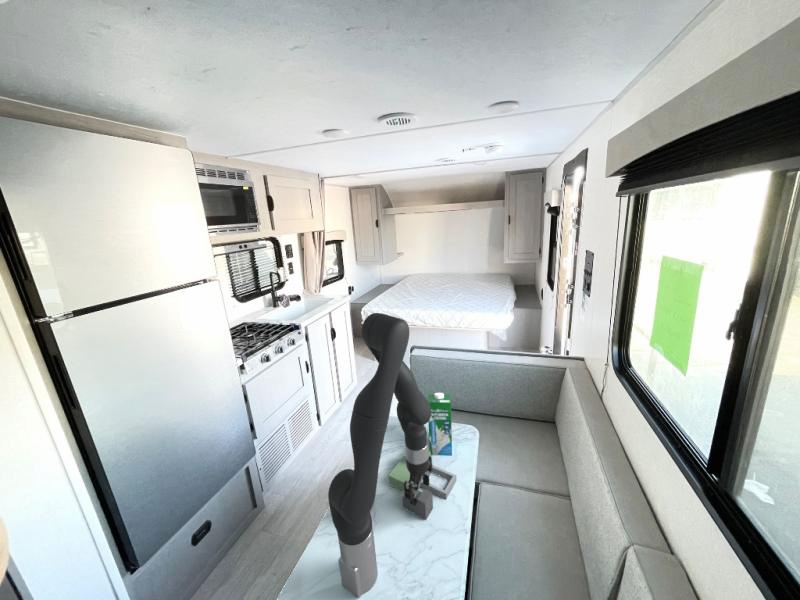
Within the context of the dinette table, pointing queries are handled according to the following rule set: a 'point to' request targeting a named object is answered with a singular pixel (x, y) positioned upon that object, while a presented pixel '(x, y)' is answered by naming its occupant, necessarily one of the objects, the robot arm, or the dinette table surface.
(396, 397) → the robot arm
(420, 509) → the grey stepped block
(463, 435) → the dinette table surface
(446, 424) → the milk carton
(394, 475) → the multicoloured piece
